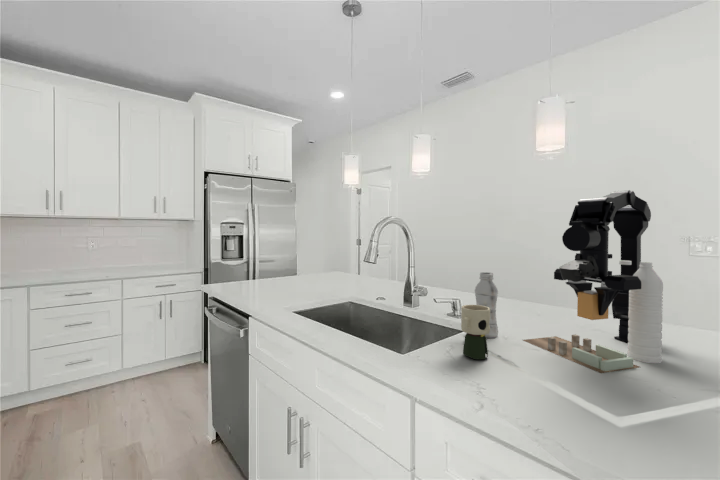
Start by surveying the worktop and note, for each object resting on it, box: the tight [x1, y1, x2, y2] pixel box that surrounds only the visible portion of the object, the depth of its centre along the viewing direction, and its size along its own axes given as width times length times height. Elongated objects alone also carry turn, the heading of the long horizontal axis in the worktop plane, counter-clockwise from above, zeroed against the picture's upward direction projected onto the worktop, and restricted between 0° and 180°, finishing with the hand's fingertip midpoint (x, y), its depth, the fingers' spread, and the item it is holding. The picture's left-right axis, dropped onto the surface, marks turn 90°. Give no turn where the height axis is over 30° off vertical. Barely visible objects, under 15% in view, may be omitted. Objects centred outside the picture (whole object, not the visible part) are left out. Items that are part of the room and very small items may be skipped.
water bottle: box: [618, 259, 664, 364], centre depth 86 cm, size 9×6×25 cm
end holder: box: [572, 344, 634, 371], centre depth 82 cm, size 9×8×2 cm
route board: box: [522, 333, 640, 374], centre depth 89 cm, size 12×24×4 cm, turn 16°
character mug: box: [460, 304, 490, 360], centre depth 89 cm, size 11×7×13 cm, turn 133°
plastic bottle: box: [474, 272, 499, 339], centre depth 104 cm, size 6×7×20 cm
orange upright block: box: [576, 289, 609, 321], centre depth 84 cm, size 5×4×6 cm
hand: (592, 313), depth 84 cm, fingers closed on orange upright block, 4 cm apart
